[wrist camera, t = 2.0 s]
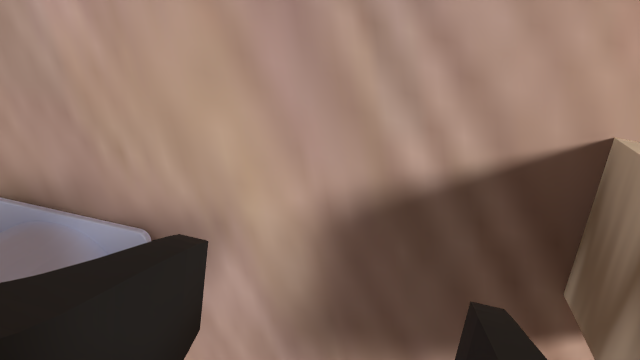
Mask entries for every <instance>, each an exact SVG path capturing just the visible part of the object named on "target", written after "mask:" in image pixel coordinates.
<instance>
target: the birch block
mask: <svg viewBox="0 0 640 360" xmlns="http://www.w3.org/2000/svg"><path fill="white" fill-rule="evenodd" d="M563 295H564V297H565V299H566V301H567V303H568V305H569V307H570V309H571V311H572V313H573V315H574V317H575V320H576V322H577V324H578V326H579V328H580V330H581V332H582V334H583V336H584V338H585V340H586V342H587V344H588V346H589V348H590V351H591V353H592V355H593V357H594V359H595V360H640V142H635V141H630V140H624V139H619V138H614V141H613V144H612V147H611V150H610V153H609V156H608V159H607V162H606V165H605V168H604V171H603V174H602V178H601V181H600V184H599V187H598V190H597V193H596V196H595V199H594V202H593V205H592V208H591V211H590V214H589V218H588V221H587V224H586V227H585V230H584V233H583V236H582V239H581V242H580V245H579V248H578V251H577V254H576V258H575V261H574V264H573V267H572V270H571V273H570V276H569V279H568V282H567V285H566V288H565V291H564V294H563Z"/></svg>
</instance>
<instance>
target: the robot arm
mask: <svg viewBox="0 0 640 360" xmlns="http://www.w3.org/2000/svg"><path fill="white" fill-rule="evenodd" d="M207 247H208V241H206V240H202V239H198V238H193V237H189V236H185V235H180V234H179V235H173V236H168V237H164V238H161V239H157V240H154V241H151V237H150V235H149V234H148V233H147V232H146V231H145V230H143V229H140V228H135V227H131V226H126V225H122V224H117V223H113V222H108V221H104V220H100V219H95V218H91V217H86V216H82V215H77V214H73V213H68V212H64V211H59V210H55V209H50V208H46V207H41V206H37V205H33V204H28V203H24V202H19V201H15V200H10V199H6V198H1V197H0V360H184V358H185V356H186V354H187V353H188V351H189V349H190V347H191V345H192V343H193V341H194V339H195V338H196V336H197V334H198V332H199V330H200V322H201V311H202V301H203V290H204V279H205V269H206V258H207ZM455 360H547V359H546V358H545V356H544V355H543V354H542V353H541V352H540V351H539V349H538V348H537V347H536V346H535V345H534V343H533V342H532V341H531V340H530V339H529V337H528V336H527V335H526V334H525V333H524V331H523V330H522V329H521V328H520V327H519V325H518V324H517V323H516V322H515V321H514V319H513V318H512V317H511V316H510V315H509V314H508V313H507V312H506V311H505V310H504V309H500V308H496V307H492V306H488V305H483V304H479V303H475V302H470V306H469V309H468V313H467V317H466V320H465V324H464V328H463V331H462V335H461V339H460V343H459V346H458V350H457V354H456V357H455Z"/></svg>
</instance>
